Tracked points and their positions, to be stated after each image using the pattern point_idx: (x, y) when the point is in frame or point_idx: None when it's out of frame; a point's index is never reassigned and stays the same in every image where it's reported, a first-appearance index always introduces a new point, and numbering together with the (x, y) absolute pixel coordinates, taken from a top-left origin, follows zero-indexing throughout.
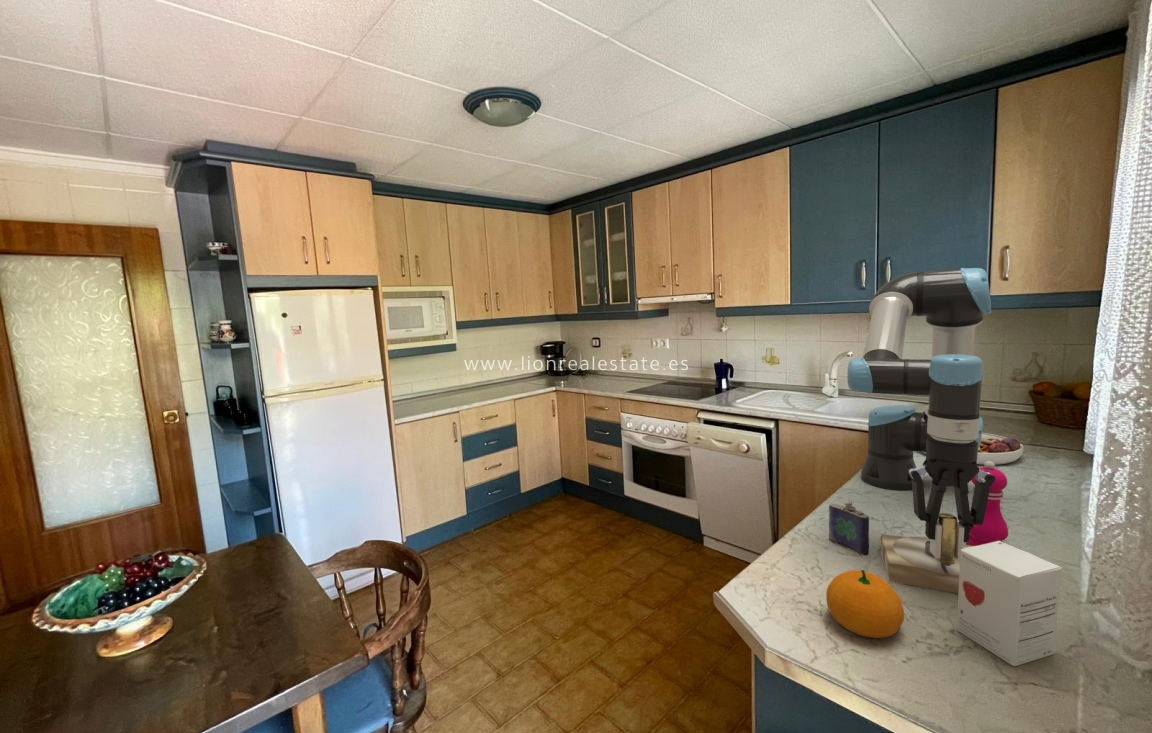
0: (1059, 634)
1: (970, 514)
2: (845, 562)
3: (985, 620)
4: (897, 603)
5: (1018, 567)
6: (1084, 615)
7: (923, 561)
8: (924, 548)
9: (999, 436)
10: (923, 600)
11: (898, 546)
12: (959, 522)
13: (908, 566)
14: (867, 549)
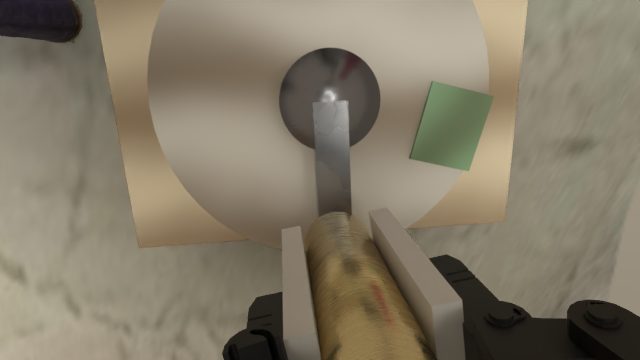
0: (526, 299)
1: (595, 348)
2: (5, 137)
3: None
4: None
5: None
6: (628, 188)
7: (263, 187)
8: (282, 54)
9: None
10: (255, 283)
11: (171, 77)
12: (467, 338)
13: (207, 241)
14: (61, 34)
